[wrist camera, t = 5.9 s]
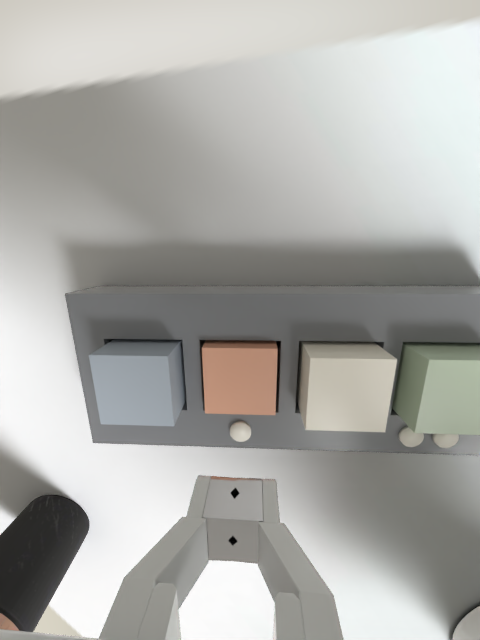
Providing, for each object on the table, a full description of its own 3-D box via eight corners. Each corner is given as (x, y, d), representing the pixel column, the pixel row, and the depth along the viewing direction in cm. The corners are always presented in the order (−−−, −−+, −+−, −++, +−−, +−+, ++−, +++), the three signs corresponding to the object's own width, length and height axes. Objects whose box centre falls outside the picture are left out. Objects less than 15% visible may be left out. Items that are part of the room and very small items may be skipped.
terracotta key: (273, 330, 20) (277, 348, 16) (271, 386, 22) (275, 415, 18) (211, 330, 21) (201, 347, 17) (213, 385, 22) (205, 413, 18)
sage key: (463, 338, 18) (520, 361, 14) (449, 399, 19) (497, 435, 16) (392, 337, 18) (429, 359, 15) (382, 397, 20) (414, 433, 16)
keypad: (484, 285, 19) (548, 294, 15) (451, 420, 22) (496, 459, 18) (99, 285, 21) (61, 294, 17) (119, 412, 24) (90, 445, 20)
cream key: (367, 337, 19) (397, 359, 15) (359, 397, 20) (385, 432, 16) (298, 336, 19) (310, 358, 15) (295, 395, 20) (305, 429, 16)
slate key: (184, 335, 19) (167, 356, 15) (189, 393, 20) (174, 426, 17) (121, 334, 19) (88, 355, 16) (129, 392, 21) (100, 424, 17)
